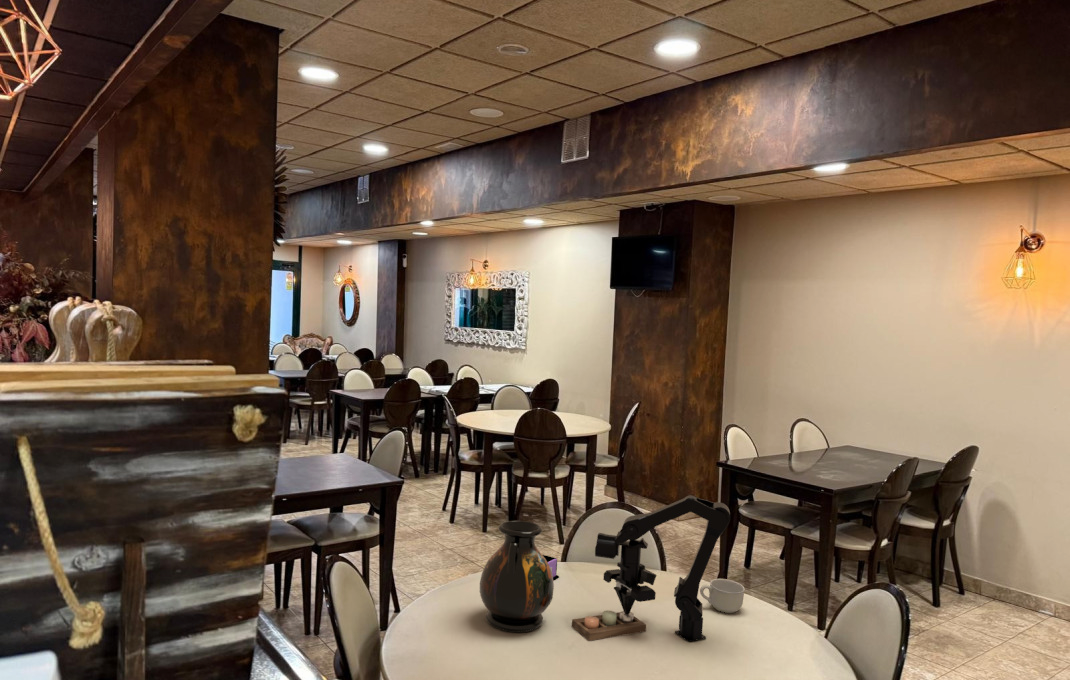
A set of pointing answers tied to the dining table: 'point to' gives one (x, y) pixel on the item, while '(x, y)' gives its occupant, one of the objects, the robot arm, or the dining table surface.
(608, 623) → the sage button
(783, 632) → the dining table surface
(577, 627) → the button panel
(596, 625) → the terracotta button
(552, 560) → the dollhouse room
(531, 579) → the amphora vase
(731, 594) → the teacup
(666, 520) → the robot arm
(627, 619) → the grey button
